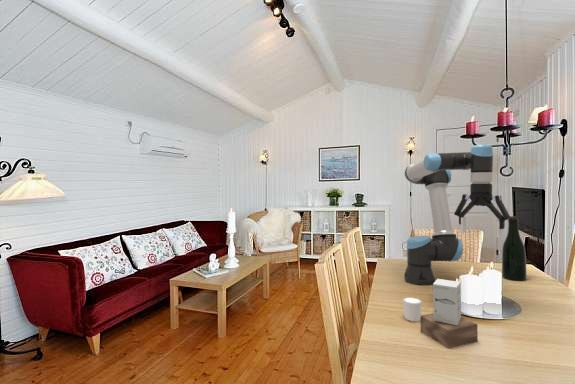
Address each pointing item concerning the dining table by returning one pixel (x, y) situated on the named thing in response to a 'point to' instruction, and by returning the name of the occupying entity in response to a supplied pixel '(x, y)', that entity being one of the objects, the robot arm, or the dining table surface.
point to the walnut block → (449, 331)
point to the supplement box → (447, 301)
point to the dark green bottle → (513, 253)
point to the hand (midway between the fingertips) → (480, 234)
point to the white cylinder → (412, 308)
